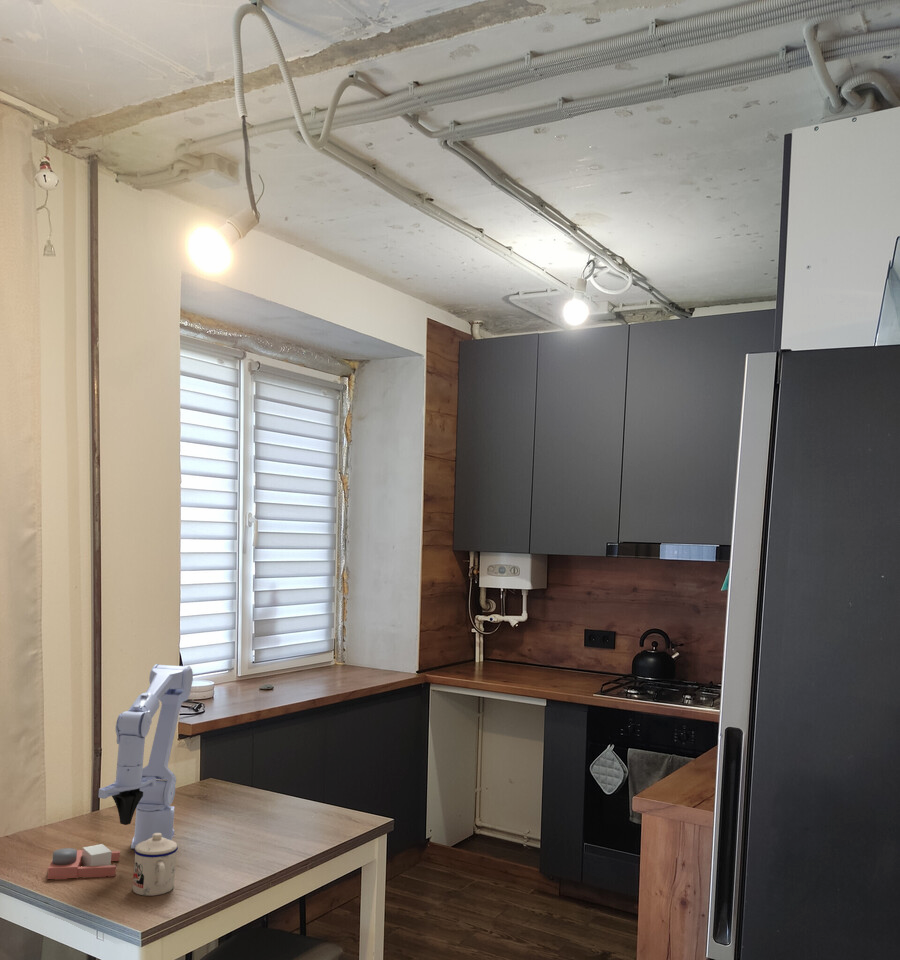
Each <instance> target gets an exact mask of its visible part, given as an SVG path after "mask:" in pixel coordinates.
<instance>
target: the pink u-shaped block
mask: <svg viewBox="0 0 900 960" xmlns="http://www.w3.org/2000/svg"><path fill="white" fill-rule="evenodd" d="M82 850H83V849H76V848H72V847H67V848H65V847H64V848H59V849H56V850H54V851H52V852H53V853H52V859H51V862H50V864H49V866H48V868H47V879H55V880H68V879H67V878H76V879H78V878H77V877H87V878H103V877H104V878H107V877H106V876H108V877H116V875H117V873H116V872H117V865H116V864H114V865H107V866H85V867H81V862H82ZM120 856H121V851H120V850H115V851H114V850H112V854H111V861H119V862H120V858H121V857H120Z"/></svg>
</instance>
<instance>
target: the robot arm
mask: <svg viewBox="0 0 900 960" xmlns="http://www.w3.org/2000/svg"><path fill="white" fill-rule="evenodd" d="M193 675H194V672H193V669H192V667H191V666H190V665H186V666H185V665H167V664H159V663H156V664H154V665H153V666H152V667H151V669H150V672H149V677H148V678H149V686H148V688H147V690H146V691H145V692H142V693H140V694H139V695H138V696H137V698H135V700H134V701H133V703H132V704H131V705H130V707H129V709H127V711H126V710H125V711H123V712H121V713H120V714H119V715H118V717H117V719H116V724H115V733H116V744H117V745H118V748H117V749H118V750H117V758H116V759H117V761H116V774H115V780H114V782H113V783H110V784H109V785H106V786H104V787H100V788H98V798H99V799H102V800H103V799H104V800H105V799H108V798H109V797H111V798H112V799H113V801H114V803H115V806H116V809H117V812H118V817H119V823H120V825H124V826H127V825H130V824H131V822H132V819H133V817H134V813H135V824H134V836H133V837H132V841H131V844H130V845H131V846H130V849H135V847H136V845H137V844H139V843H140V842H143V841H146V840H148V839H149V838H152V836H153V834H154V833H161V834H162V837H164V838H166V839H168V840H172V841H173V837H175V829H174V819H175V818H174V817H175V805H174V806H173V805H172V803H173V801H174V800H175V795H176V784H177V783H176V782H177V777H176V775H175V774H174V772H173V771H172V770H171V769H170V768H169V761H170V757H171V752H172V747H173V743H174V738H175V734H176V729H177V725H178V720H179V715H180V711H181V707H182V704H183V703H184V702H186V701H188V700H189V696H190V694H191V691H192V685H193V681H194V679H193V678H194V676H193ZM160 702H161V706H160ZM159 708H160V710H159ZM158 710H159V711H160V712H159V714H158V715H159V716H158V720H157V723H156V724H157V725H156V727H155V728H156V729H155V732H154V737H153V741H152V745H151V751H150V754H149V759H148V763H147V765H146V766H144V757H145V756H144V753H145V744H146V743H145V741H146V737H147V736H148V734H149V731H150V727H151V725H152V722H153V721H152V719H153V717H155V715H156V713H157V711H158Z"/></svg>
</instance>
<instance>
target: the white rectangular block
mask: <svg viewBox="0 0 900 960" xmlns="http://www.w3.org/2000/svg"><path fill="white" fill-rule="evenodd" d="M81 850H82V862H81V866H82V867H85V866H107V865H111V864H112V862H111V854H112V851H113V850H112V851H111V849H109V848H108V847H107V846H105V845H104V844H103V843H99V844H96V845H90V846H83V847H82V849H81Z"/></svg>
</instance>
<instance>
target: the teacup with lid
mask: <svg viewBox="0 0 900 960" xmlns="http://www.w3.org/2000/svg"><path fill="white" fill-rule="evenodd" d="M133 849H134V850H133V851H134V862H133V863H134V865H133V875H132V891H133V893H134V894H136V895H140V896H147V897H152V896H160V895H164V894H167V893H169V892H170V891H172V890H173V889H174V887H175V872H176V859H177V851H178V844H177V842H176V841H174V840H173V839H172V840H168V839H166V838H164V837H162V834H161V833H154V834H153V836H152V838H149V839H148V840H146V841H143V842H140V843H139V844H137V845H136V847H135V848H133Z"/></svg>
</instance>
